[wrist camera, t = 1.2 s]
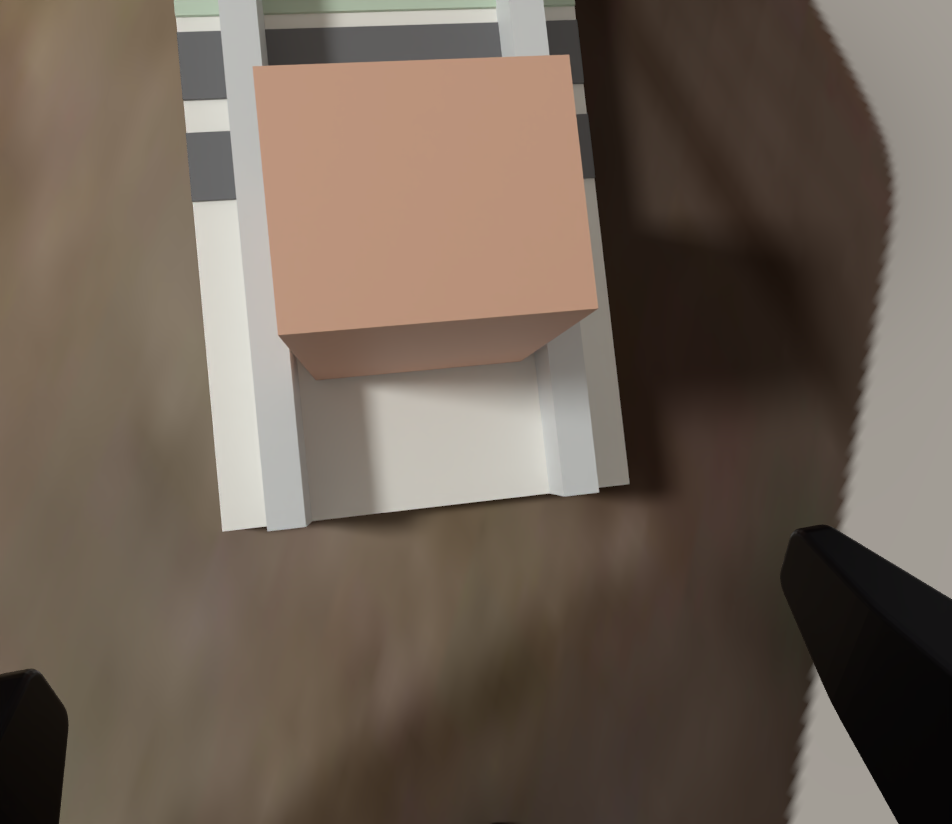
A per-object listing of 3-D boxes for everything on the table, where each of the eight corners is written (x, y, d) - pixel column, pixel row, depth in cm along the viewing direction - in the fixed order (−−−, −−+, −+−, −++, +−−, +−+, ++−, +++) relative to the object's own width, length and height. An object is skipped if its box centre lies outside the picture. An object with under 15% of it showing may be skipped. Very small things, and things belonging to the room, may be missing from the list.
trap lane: (619, 482, 24) (717, 493, 17) (229, 528, 22) (161, 560, 15) (545, -158, 25) (609, -397, 18) (167, -159, 23) (76, -422, 16)
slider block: (520, 361, 22) (598, 308, 14) (315, 380, 21) (277, 335, 14) (502, 196, 22) (569, 54, 15) (299, 209, 22) (252, 65, 14)
